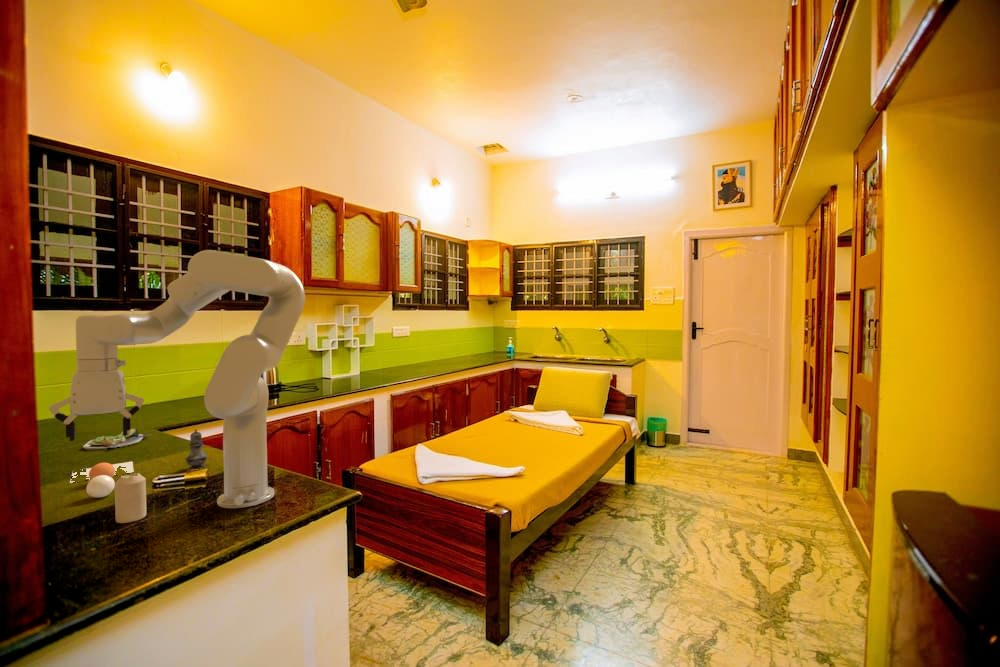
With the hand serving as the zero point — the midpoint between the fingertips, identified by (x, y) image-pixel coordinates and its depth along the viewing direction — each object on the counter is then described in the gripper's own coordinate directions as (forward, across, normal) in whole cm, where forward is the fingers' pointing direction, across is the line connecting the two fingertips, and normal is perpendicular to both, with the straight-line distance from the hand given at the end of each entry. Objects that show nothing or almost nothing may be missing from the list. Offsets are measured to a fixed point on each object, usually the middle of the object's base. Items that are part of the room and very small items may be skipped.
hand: (99, 436), depth 111 cm
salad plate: (+18, 0, -75) cm, 77 cm away
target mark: (+17, +1, -34) cm, 38 cm away
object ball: (+14, +1, -22) cm, 26 cm away
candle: (+17, -6, +13) cm, 23 cm away
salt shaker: (+17, -21, -20) cm, 34 cm away
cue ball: (+14, 0, -8) cm, 16 cm away
